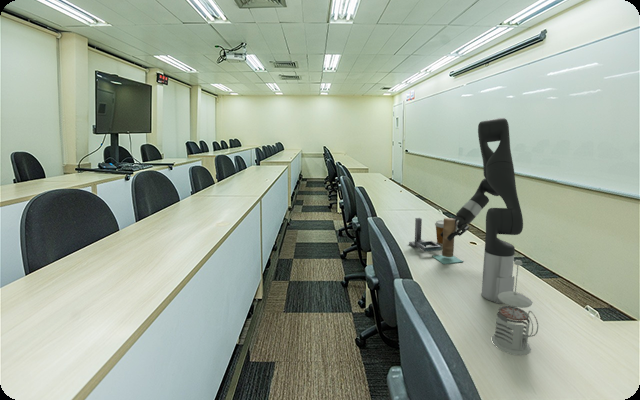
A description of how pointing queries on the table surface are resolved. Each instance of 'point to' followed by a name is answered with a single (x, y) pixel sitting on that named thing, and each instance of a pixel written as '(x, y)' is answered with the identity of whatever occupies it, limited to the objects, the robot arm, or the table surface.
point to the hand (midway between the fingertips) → (444, 237)
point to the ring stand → (419, 242)
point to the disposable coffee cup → (439, 231)
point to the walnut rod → (447, 230)
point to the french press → (503, 334)
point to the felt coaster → (447, 259)
